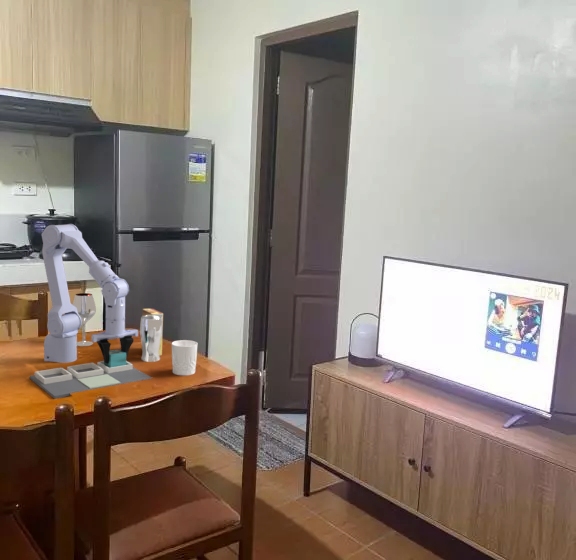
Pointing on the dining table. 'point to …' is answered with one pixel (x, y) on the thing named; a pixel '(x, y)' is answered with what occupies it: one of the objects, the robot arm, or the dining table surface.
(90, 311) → the wineglass
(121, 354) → the teal letter cube
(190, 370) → the white cup
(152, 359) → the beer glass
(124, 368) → the organizer board
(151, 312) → the candy box
